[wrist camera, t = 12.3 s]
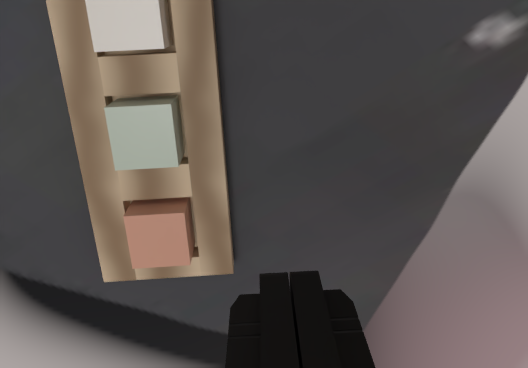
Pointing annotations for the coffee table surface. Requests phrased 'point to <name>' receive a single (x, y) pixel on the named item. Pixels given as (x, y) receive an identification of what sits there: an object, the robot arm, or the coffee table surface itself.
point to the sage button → (145, 132)
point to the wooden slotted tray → (193, 128)
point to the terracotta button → (160, 232)
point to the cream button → (129, 24)
